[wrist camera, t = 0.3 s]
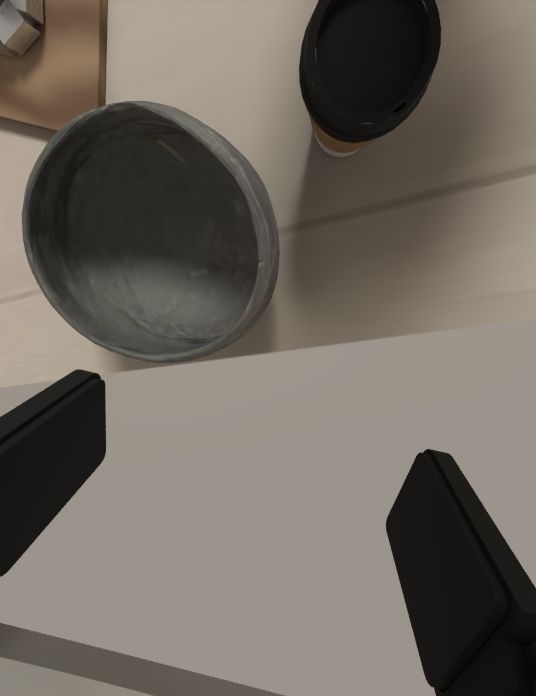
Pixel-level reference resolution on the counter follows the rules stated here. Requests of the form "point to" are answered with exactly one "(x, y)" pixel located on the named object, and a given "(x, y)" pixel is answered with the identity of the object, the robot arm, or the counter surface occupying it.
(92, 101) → the post base
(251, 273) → the bowl
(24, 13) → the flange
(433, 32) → the coffee cup
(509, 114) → the counter surface
